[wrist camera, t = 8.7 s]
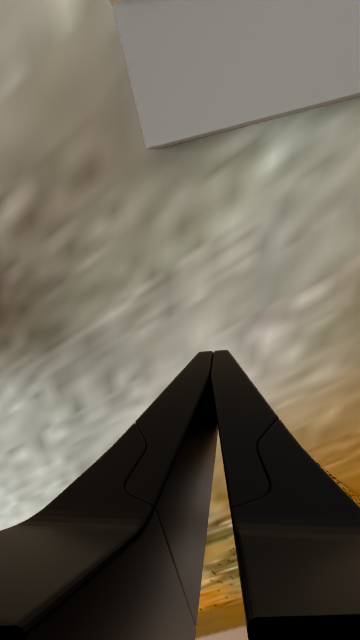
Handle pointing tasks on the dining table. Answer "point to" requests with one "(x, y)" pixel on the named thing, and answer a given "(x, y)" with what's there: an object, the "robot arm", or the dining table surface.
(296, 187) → the dining table surface
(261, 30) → the deck
